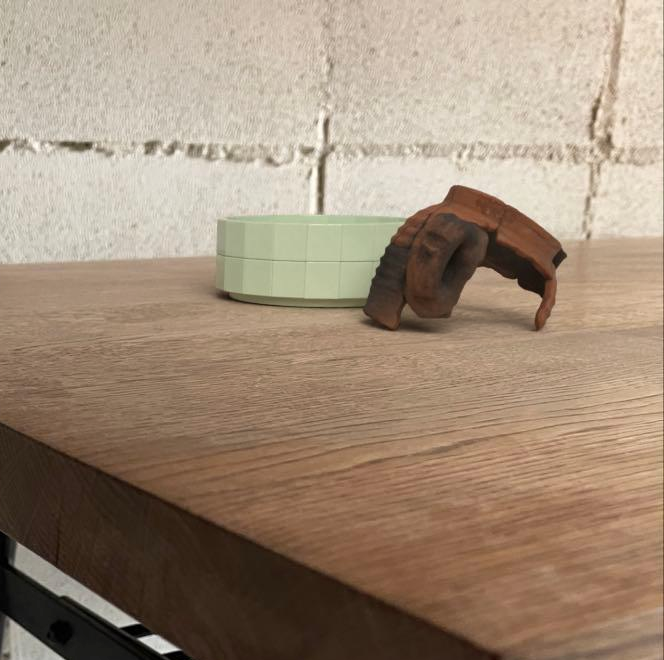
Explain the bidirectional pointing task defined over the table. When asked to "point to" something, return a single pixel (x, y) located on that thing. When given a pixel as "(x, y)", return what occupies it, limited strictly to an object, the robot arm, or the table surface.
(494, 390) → the table surface
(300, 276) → the bowl
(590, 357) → the table surface
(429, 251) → the ram-horned helmet
